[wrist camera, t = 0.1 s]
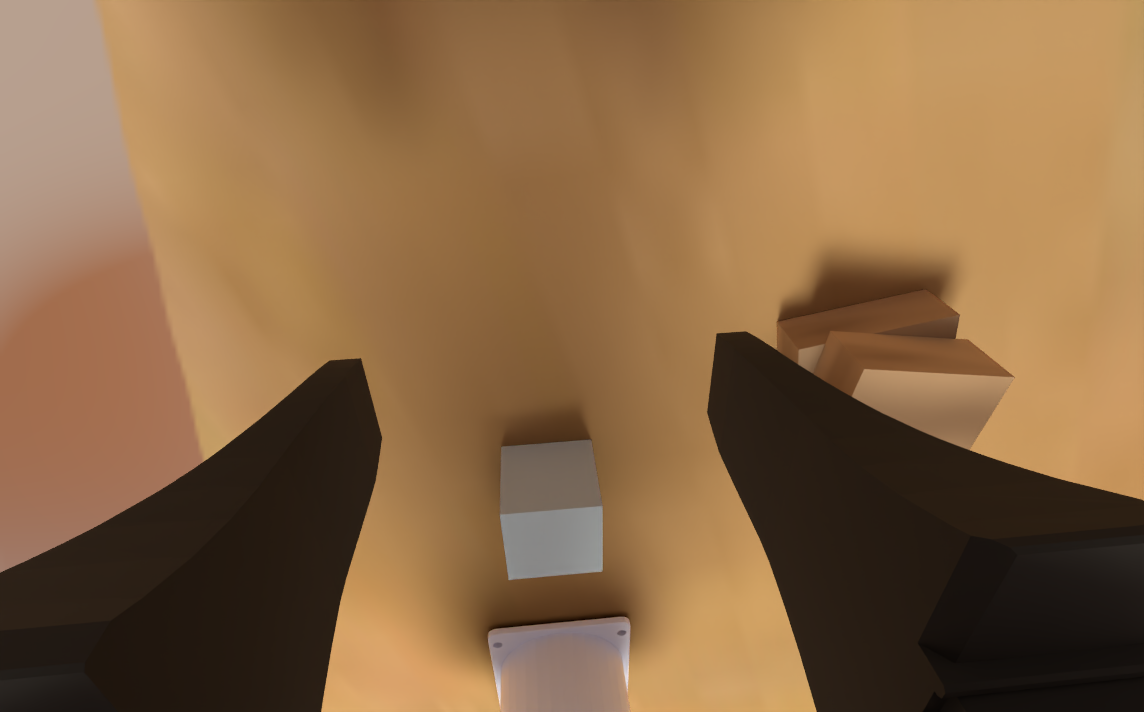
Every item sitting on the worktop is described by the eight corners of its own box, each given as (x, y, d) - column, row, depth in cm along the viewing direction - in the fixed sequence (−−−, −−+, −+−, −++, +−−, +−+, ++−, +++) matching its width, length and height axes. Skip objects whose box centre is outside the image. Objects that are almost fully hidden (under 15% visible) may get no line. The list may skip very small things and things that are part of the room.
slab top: (906, 451, 25) (941, 494, 23) (783, 446, 25) (808, 490, 23) (968, 339, 22) (1014, 377, 20) (830, 330, 22) (864, 369, 20)
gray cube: (592, 501, 29) (602, 571, 25) (509, 508, 28) (508, 580, 25) (591, 438, 26) (602, 506, 23) (501, 445, 26) (499, 514, 23)
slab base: (904, 399, 27) (937, 435, 25) (775, 427, 27) (797, 464, 25) (920, 284, 24) (959, 314, 22) (773, 317, 24) (798, 349, 22)
